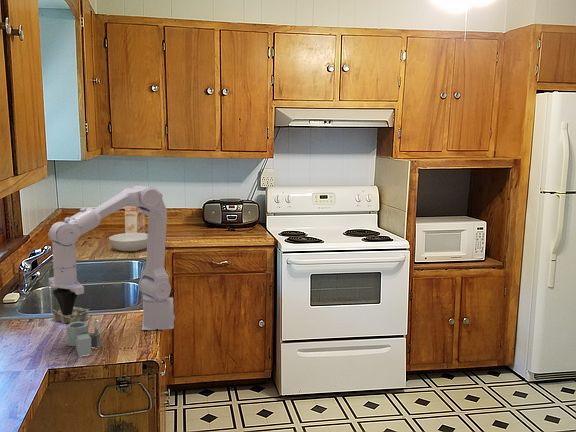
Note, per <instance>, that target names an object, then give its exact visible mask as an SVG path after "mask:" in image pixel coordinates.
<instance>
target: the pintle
mask: <svg viewBox="0 0 576 432" xmlns="http://www.w3.org/2000/svg"><path fill="white" fill-rule="evenodd" d="M93 330H94V331H93V333H98V334H100V340H101V341H102V320H101V319H100V318H97V319H93Z"/></svg>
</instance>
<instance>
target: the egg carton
mask: <svg viewBox="0 0 576 432" xmlns="http://www.w3.org/2000/svg"><path fill="white" fill-rule="evenodd" d="M89 310H90V308H82V307H76V306H74V307H73V311H72V314H71V315H67V316H64V315H63V314H62V312H61V309H60V308H58V311H57V310H55V309H52V308H51V309H50V310H49V311H50V312H52V320H53V322H54V323H56V322H61V323H62V324H65V323H68V324H70V323H73V322H79V321H80V322H87V321H88V317H89V316H88V311H89Z"/></svg>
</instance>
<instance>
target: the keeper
mask: <svg viewBox="0 0 576 432" xmlns="http://www.w3.org/2000/svg"><path fill="white" fill-rule="evenodd" d="M82 334H89V336H90V337H91V347H95V348H98V347H99V346H100V347H101V341H100V334H98V333H94V332H89V333H87V332H83V333H81V335H82Z"/></svg>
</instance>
